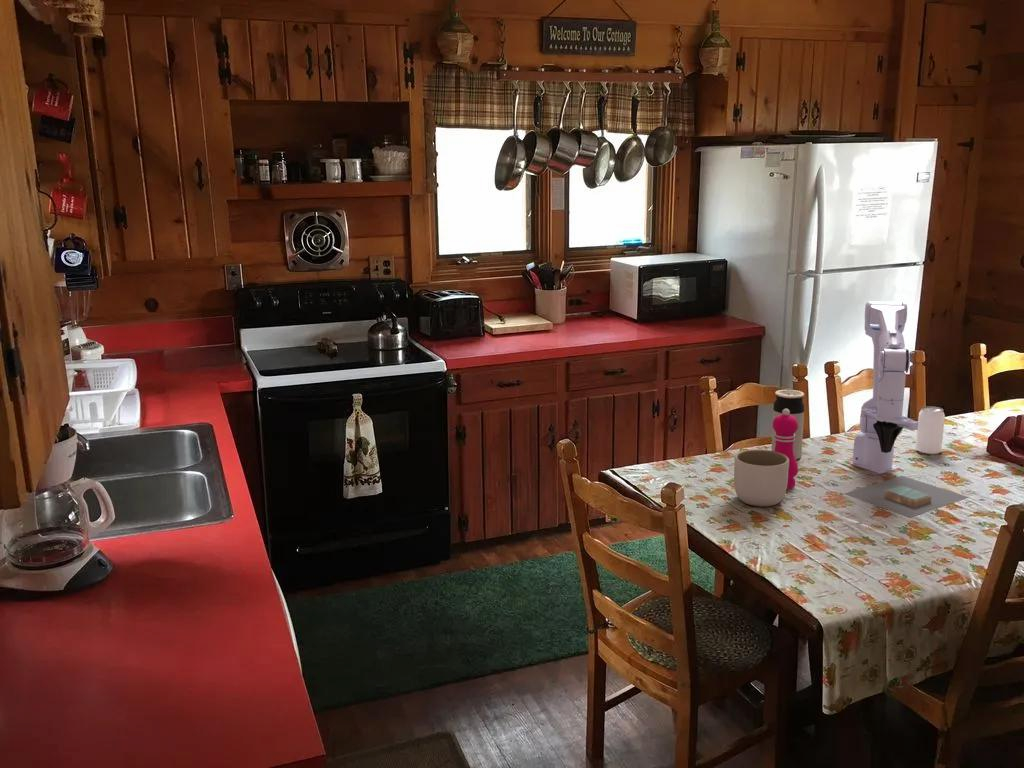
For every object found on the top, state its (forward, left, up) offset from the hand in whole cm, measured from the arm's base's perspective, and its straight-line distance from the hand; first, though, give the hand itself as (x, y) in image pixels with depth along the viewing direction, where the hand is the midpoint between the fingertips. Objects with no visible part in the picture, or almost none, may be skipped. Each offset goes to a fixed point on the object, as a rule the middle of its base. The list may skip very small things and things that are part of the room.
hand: (886, 451), depth 216 cm
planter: (-11, -31, -10) cm, 34 cm away
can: (-11, +34, -10) cm, 37 cm away
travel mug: (-30, -1, -10) cm, 32 cm away
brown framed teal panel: (+5, -3, -8) cm, 10 cm away
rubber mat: (+7, -1, -9) cm, 12 cm away
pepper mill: (-15, -19, -10) cm, 26 cm away
